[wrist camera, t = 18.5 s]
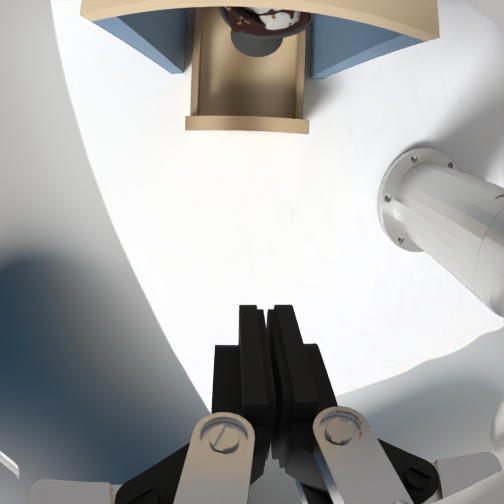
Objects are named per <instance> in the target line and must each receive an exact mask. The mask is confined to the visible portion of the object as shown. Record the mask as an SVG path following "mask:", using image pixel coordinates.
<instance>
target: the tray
mask: <svg viewBox="0 0 504 504" xmlns="http://www.w3.org/2000/svg"><path fill="white" fill-rule="evenodd" d="M230 32H231V28H230V27H229V26H228V25H227V24H226V23H225V21H224V20H223V18H222V17H221V15H220V13H219V11H218V9H217V6H210V7H196V13H195V26H194V41H193V59H192V80H191V112H190V116H186V121H185V130H244V131H270V132H287V133H301V134H309V120H303V119H302V115H303V95H304V71H305V38H306V29H305V30H303V31H302V32H300V33H298V34H295V35H292V36H289V37H285V38H283V40H282V43H281V46H280V47H279V48H278V49H277V50H276V51H275V52H274V53H272V54H270V55H268V56H265V57H251V56H247V55H244V54H243V53H241V52H240V51H238V50H237V49H236V48H235V46H234V45H233V43H232V41H231V33H230Z"/></svg>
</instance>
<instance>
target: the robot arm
mask: <svg viewBox="0 0 504 504" xmlns="http://www.w3.org/2000/svg"><path fill="white" fill-rule="evenodd" d="M411 157H412V159H411ZM385 196H386V198H385ZM378 215H379V220H380V223H381V226H382V228H383V230H384V232H385V233H386V235H387V236H388V237H389V239H390V240H391V241H392V242H393V243H395V244H396V245H397V246H398V247H400V248H402V249H404V250H407V251H411V252H423V251H425V252H426V253H427V254H429V255H430V256H431V257H432V258H433V259H435V260H436V261H437V262H438V263H439V264H440V265H442V266H443V267H444V268H445V269H446V270H447V271H449V272H450V273H451V274H452V275H453V276H454V277H455V278H456V279H458V280H459V281H460V282H461V283H462V284H463V285H464V286H465V287H466V288H467V289H469V290H470V291H471V292H472V293H473V294H474V295H475V296H476V297H477V298H478V299H479V300H480V301H481V302H483V303H484V304H485V305H486V306H487V307H488V308H489V309H490V310H491V311H493V312H494V313H495V314H497V315H499V316H501V317H504V188H502V187H500V186H497V185H495V184H492V183H490V182H487V181H485V180H482V179H480V178H477V177H474V176H471V175H469V174H466V173H463V172H460V171H459V169H458V167H457V166H456V164H455V162H454V161H453V160H452V159H451V158H450V157H449V156H447V155H446V154H444V153H443V152H441V151H438V150H435V149H431V148H416V149H413V150H410V151H408V152H406V153H404V154H402V155H401V156H400V157H399V158H398V159H396V160H395V161H394V162H393V164H392V165H391V166H390V167H389V169H388V170H387V172H386V174H385V176H384V178H383V180H382V183H381V186H380V189H379V195H378ZM270 443H271V452H272V458H273V459H279V464H280V468H283V467H285V472H286V473H287V474H289V475H290V476H292V477H293V478H294V479H295V485H296V487H297V490H298V493H299V496H300V499H301V502H302V504H504V470H502V468H503V469H504V399H503V400H502V402H501V403H500V405H499V407H498V409H497V411H496V414H495V416H494V418H493V422H492V425H491V431H490V443H491V448H492V451H493V454H491V453H489V452H482V453H477V454H471V455H466V456H460V457H453V458H446V459H439V460H436V461H435V462H434V463H430V462H428V461H426V460H424V459H422V458H420V457H417V456H415V455H413V454H410V453H408V452H406V451H404V450H401V449H399V448H397V447H395V446H393V445H391V444H388V443H386V442H384V441H382V440H380V439H378V438H376V436H375V434H374V432H373V431H372V429H371V427H370V425H369V424H368V422H367V420H366V419H365V418H364V417H363V415H362V414H360V413H359V412H357V411H356V410H354V409H351V408H349V407H342V406H338V405H337V402H336V399H335V395H334V392H333V389H332V386H331V383H330V380H329V377H328V374H327V371H326V368H325V365H324V362H323V359H322V356H321V353H320V350H319V347H318V345H317V344H316V343H315V344H303V340H302V337H301V334H300V330H299V327H298V323H297V320H296V316H295V313H294V309H293V306H292V305H275V306H274V309H268V313H267V326H266V324H265V318H264V311H263V309H257V305H239V345H215V356H214V374H213V393H212V414H210V415H208V416H206V417H204V418H203V419H201V420H200V421H199V423H197V425H196V427H195V429H194V431H193V435H192V438H191V442H189V443H188V444H187V445H185V446H184V447H182V448H181V449H179V450H178V451H176V452H175V453H173V454H172V455H170V456H168V457H167V458H165V459H164V460H162V461H161V462H159V463H157V464H156V465H155V466H153V467H151V468H149V469H148V470H146V471H144V472H143V473H141V474H139V475H138V476H136V477H134V478H132V479H131V480H129V481H127V482H126V483H125V484H123V485H111V484H110V483H102V482H77V481H76V482H75V481H63V480H53V479H52V480H51V479H43V480H39V481H37V482H35V483H34V485H33V486H32V487H31V489H30V492H29V500H28V502H29V503H28V504H248V500H249V491H250V485H251V484H252V483H254V482H255V481H256V480H257V479H258V478H259V477H260V476H261V475H263V471H264V466H265V460H267V459H268V454H269V449H270Z"/></svg>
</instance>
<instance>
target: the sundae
mask: <svg viewBox="0 0 504 504" xmlns="http://www.w3.org/2000/svg"><path fill="white" fill-rule="evenodd" d="M217 9H218V11H219V13H220V15H221V17H222V18H223V20H224V21H225V23H226V24H227V25H228V26H229V27H230V28H231V32H230V33H231V41H232V43H233V45H234V46H235V48H236V49H237V50H238V51H240V52H241V53H243V54H244V55H247V56H251V57H265V56H268V55H270V54H272V53H274V52H275V51H276V50H277V49H278V48H279V47H280V46H281V43H282V40H283V38H285V37H289V36H292V35H295V34H298V33H300V32H302V31H303V30H305V29H306V28H307V27H308V26H309V25H310V24H311V23H312V21H313V20H314V18H315V15H316V13H310V12H303V11H295V10H286V9H275V8H262V7H239V6H217Z"/></svg>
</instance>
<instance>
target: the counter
mask: <svg viewBox="0 0 504 504" xmlns="http://www.w3.org/2000/svg"><path fill="white" fill-rule="evenodd" d="M210 6H239V7H262V8H275V9H286V10H295V11H303V12H310V13H316V15H315V18H314V20H313V21H312V44H311V76H310V78H318V79H323V78H326V77H328V76H330V75H333V74H335V73H338V72H340V71H343V70H345V69H347V68H350V67H353V66H355V65H358V64H360V63H363V62H366V61H368V60H371V59H374V58H376V57H379V56H382V55H385V54H388V53H391V52H394V51H397V50H400V49H403V48H406V47H409V46H412V45H415V44H419V43H422V42H426V41H429V40H433V39H436V38H440V36H439V21H438V10H437V0H82V4H81V10H80V15H81V16H82V17H84V18H86V19H88V20H89V21H91V22H93V23H94V24H96V25H98V26H100V27H101V28H103V29H104V30H106V31H108V32H109V33H111V34H113V35H114V36H116V37H117V38H119V39H121V40H122V41H124V42H125V43H127V44H128V45H130V46H131V47H133V48H135V49H136V50H138V51H139V52H141V53H142V54H144V55H145V56H147V57H148V58H150V59H151V60H152V61H154V62H155V63H157V64H158V65H160V66H161V67H163V68H164V69H165V70H167V71H168V72H170V73H171V74H176V73H184V54H185V38H186V24H187V12H188V7H210Z"/></svg>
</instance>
